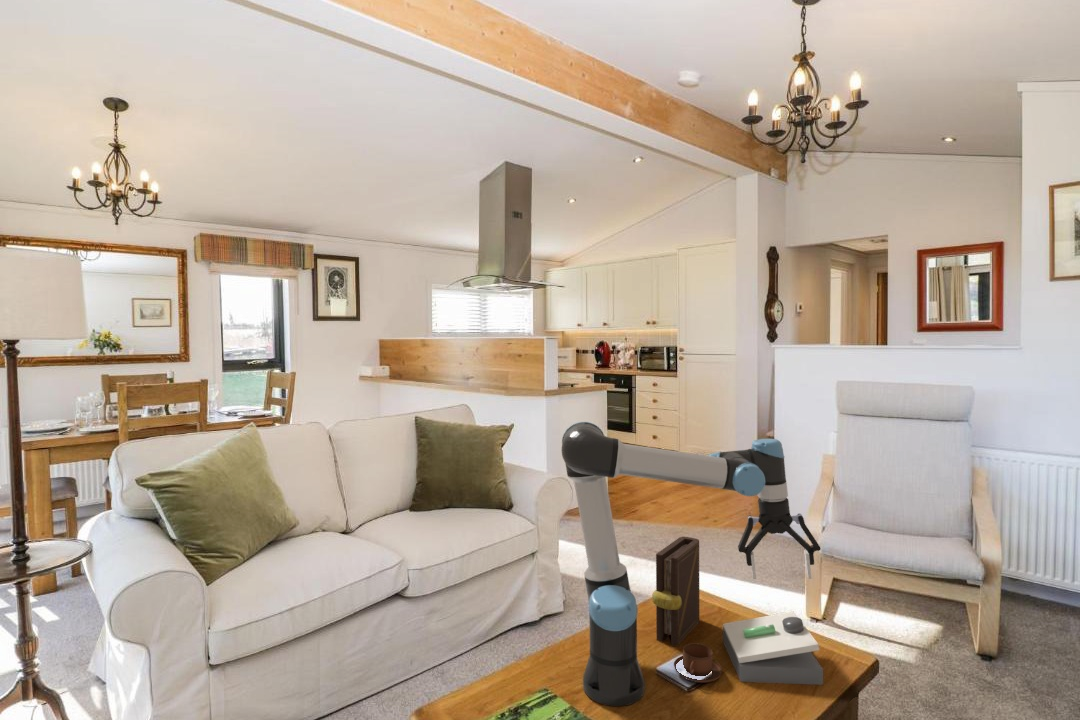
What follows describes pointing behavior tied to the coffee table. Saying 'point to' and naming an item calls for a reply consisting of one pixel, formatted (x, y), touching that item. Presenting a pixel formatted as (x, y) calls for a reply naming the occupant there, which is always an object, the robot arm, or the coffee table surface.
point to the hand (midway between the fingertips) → (781, 576)
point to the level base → (778, 668)
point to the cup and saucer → (699, 662)
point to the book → (677, 589)
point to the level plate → (769, 637)
